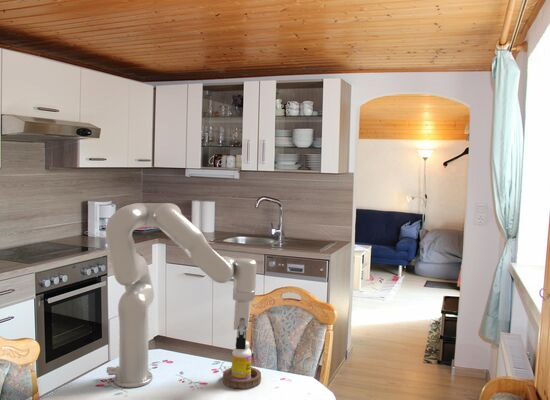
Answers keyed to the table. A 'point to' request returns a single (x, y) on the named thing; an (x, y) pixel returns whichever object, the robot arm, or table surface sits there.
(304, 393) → the table surface
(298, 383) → the table surface
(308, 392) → the table surface
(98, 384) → the table surface
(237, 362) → the supplement bottle
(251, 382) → the ring holder
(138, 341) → the robot arm
